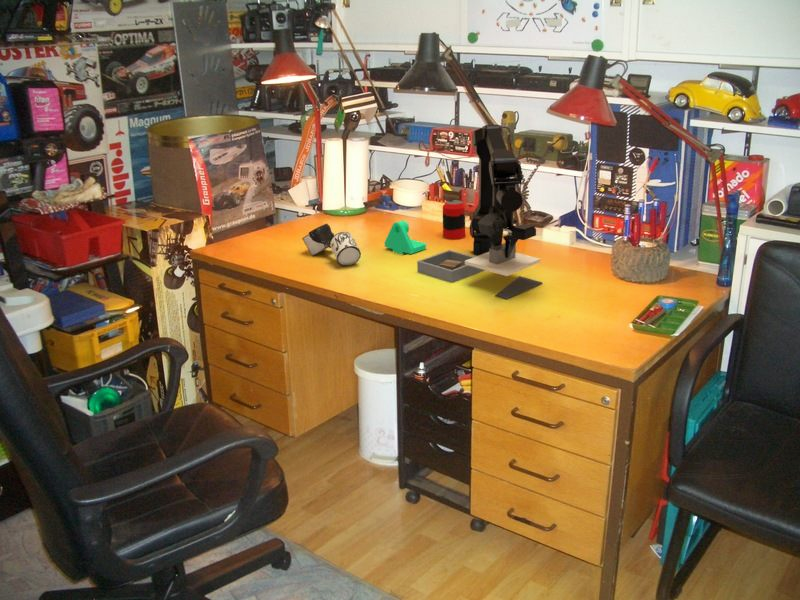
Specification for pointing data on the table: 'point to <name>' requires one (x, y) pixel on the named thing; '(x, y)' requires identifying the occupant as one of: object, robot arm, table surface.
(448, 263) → the walnut block
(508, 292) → the rubber mat
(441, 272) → the storage box
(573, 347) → the table surface
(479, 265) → the lid
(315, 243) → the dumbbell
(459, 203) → the soda can
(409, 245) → the camera mount
